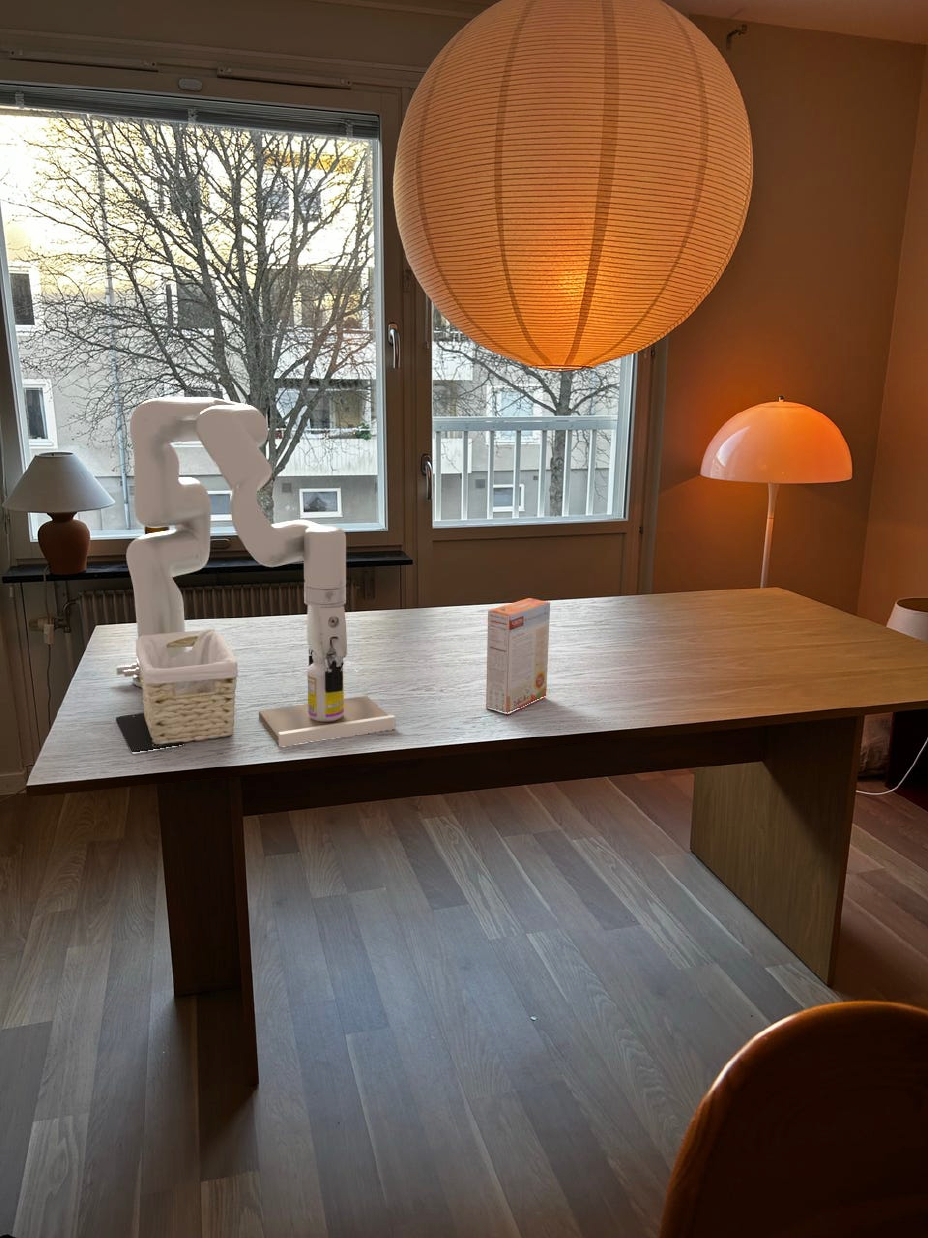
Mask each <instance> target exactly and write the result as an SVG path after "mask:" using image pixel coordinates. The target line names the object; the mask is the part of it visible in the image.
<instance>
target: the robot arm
mask: <svg viewBox="0 0 928 1238" xmlns="http://www.w3.org/2000/svg"><path fill="white" fill-rule="evenodd" d="M129 422H130V423H129V432H130V433H129V434H130V440H131V445H132V452H133V464H134V465H133V466H134V467H133V477H134V479H133V480H134V481H133V485H134V487H133V491H134V492H133V494H134V498H133V499H134V504H133V505H134V514H135V517H136V519H137V521H138V522H139V523H140V524H141V526H144V527H147V528H152V529H158V528H166V527H167V528H168V527H172V526H174V529H172V530H165V531H163V530H162V531H157V532H152V533H147V534H144V535H141V536H138V537H137V538H135V539H134V540H132V541H131V542H130V543H129V544H128V547H127V549H126V553H125V557H126V564H127V567H128V570H129V575H130V578H131V583H132V586H133V587H132V588H133V593H134V594H133V596H134V607H135V615H136V616H135V617H136V619H135V620H136V630H137V639H138V638H139V637H140V636H142V635H155V634H165V633H176V632H186V627H185V625H186V624H185V609H184V607H185V606H184V598H183V594H182V591H181V590H180V589H179V587H178V585H177V584H176V583H175V581H174V579H173V578H175V577H177V576H181V575H187V574H191V573H194V572H197V571H200V570H201V569H203V568H204V567H205V566H206V565H207V563H208V561H209V557H210V552H211V528H212V527H211V526H212V525H211V524H212V523H211V520H212V506H211V505H212V504H211V499H210V494H209V493H208V491H207V489H206V487H205V485H203V483H202V482H201V481H200V480H198V479H196V478H194V477H185V476H183V477H180V461H179V457H178V454H177V452H176V450H175V448H174V446H173V445H172V444H171V443H179V442H181V443H184V442H188V443H189V442H200V443H201V445H202V446H203V447H204V449H205V451H206V452H207V454H208V456H209V457H210V458H211V460H212V461H213V463H214V465H215V466H216V468H217V469H218V471H219V473H220V474H221V476H222V477H223V480H225V482H226V483H227V485H228V487H229V488H230V490H231V496H230V497H231V498H230V516H231V522H232V525H233V528H234V531H235V533H236V534H237V536H238V537H239V540H240V541H241V542H242V544H243V546H244V547H245V549H246V550H247V552H248V553H249V554H250V556H251V557H252V558H253V559H254V560H255V561H257V562H258V563H259V564H260V565H262V566H265V567H269V568H274V567H279V566H283V565H289V564H292V563H296V562H297V563H298V562H303V590H304V591H303V597H304V599H303V600H304V601H303V602H304V604H305V605H307V619H306V621H307V622H306V623H307V624H306V635H307V637H306V638H307V645H308V667H309V666H310V665H311V664H313V663H314V661H313V659H312V652H313V651H314V652H315V653H316V654H317V655H318V656H319V657H321V658H322V659H325V664H326V668H327V671H325V691H326V692H327V693H330V692H338V691H342V690H344V664H345V663H344V658H346V657H347V655H348V641H347V640H348V638H347V637H348V636H347V622H346V621H347V620H346V619H347V618H346V612H345V606H344V605H345V604H346V602H347V596H346V595H347V586H346V585H347V536H346V532H345V531H344V530H343V529H342V528H340V527H338V526H334V525H333V526H332V525H322V524H318V523H315V522H313V521H310V520H307V519H295V520H289V521H282V522H278V523H277V522H276V523H271V522H269V520H268V518H267V517H266V516H265V514H264V513H263V510H262V509H261V507H260V505H259V502H258V497H257V496H258V495H257V493H258V491H259V490H261V488H263V487H264V486H265V485H266V484H267V483H268V482H269V480H270V478H271V477H272V475H273V474H272V473H273V470H272V469H273V468H272V465H271V464H270V463H269V460H267V458H266V456H265V455H264V454H263V452H262V450H261V449H260V447H262V446H263V445H264V444H265V443H266V442H267V440H268V436H269V425H268V423H267V420H266V418H265V416H264V415H263V414H262V412H261V411H259V409H257V408H256V407H254V406H252V405H249V404H244V403H238V402H235V401H230V400H224V399H220V398H215V397H208V396H207V397H205V396H204V397H201V396H195V397H194V396H192V397H190V396H189V397H186V396H167V397H156V398H151V399H148V400H145V401H143V402H141V403H140V404H139V405H137V406H136V408H135V409H134V410H133V412H132V414H131V417H130V421H129ZM167 652H168V656H169V658H171V657H176V656H179V655H181V654H183V653H185V652H187V647H174V648H167ZM333 653H334V654H333ZM327 654H333V655H327ZM334 659H335V660H334ZM135 660H136V662H132V663H131V664H128V665H125V664H124V665H123V664H122V665H116V667H115V668H116V669H115V671H116V676H122V675H124V678H126V677H132V682H133V684H134V685H135V686H136V687H139V688H142V684H141V680H142V679H141V676H140V670H141V669H140V665H139V661H138V657H137V658H136V659H135ZM330 660H334V661H332V663H331V664H330Z"/></svg>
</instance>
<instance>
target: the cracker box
mask: <svg viewBox="0 0 928 1238" xmlns="http://www.w3.org/2000/svg"><path fill="white" fill-rule="evenodd" d="M550 613H551V602H550V601H546V600H540V599H536V598H531V597H530V598H529V597H528V598H525V599H521V600H518V601H515V602H512V603H507V604H506V605H502V606H499V607H496V608H492V609H489V610H488V611H487V647H486V648H487V649H486V650H487V651H486V655H487V656H486V661H487V662H486V692H485V693H486V696H485V697H486V699H485V709H486V708H492V709H496V710H499V711H502V712H507V713H508V712H510V711H513V710H515V709H517V708H521V707H523V706H525V705H527V704H529V703H531V702H533V701H535V700H537V699H540V698H541V697H544V696H546V697H547V687H548V684H547V683H548V663H549V644H550V643H549V642H550V641H549V640H550V639H549V638H550V620H551V619H550V618H551V617H550V616H551V614H550Z"/></svg>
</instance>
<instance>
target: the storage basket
mask: <svg viewBox="0 0 928 1238" xmlns="http://www.w3.org/2000/svg"><path fill="white" fill-rule="evenodd" d="M174 647H186V648H190V647H191V648H192V649H190V650H188V651H186V652H185V653H183V654H181V655H179V656H176V657H171V658H169V656H168V652H167V648H174ZM135 653H136V657H137V658H138V661H139V665H140V669H141V670H140V676H141V679H142V680H141V684H142V687H141V688H142V699H143V701H142V705H143V713H144V717H145V720H146V723H147V726H148V730H149V732H150V735H151V737H152V739H153V741H152V742H153V743H155V744H166V743H175V742H184V743H188V742H192V741H204V740H207V739H210V740H211V739H218V738H220V737H221V738H222V737H223V738H224V737H229V736H231V735H233V733H234V724H235V712H236V711H235V704H236V700H235V698H236V694H235V693H236V689H237V682H238V679H237V678H238V676H239V675H238V674H239V671H238V660H237V658H236V657H235V654H234V653H233V652H232V650H231V648H230V647H229V645H228V644H227V642H226V640H225V639H224V638H223V636H222V635H221V633H220V632H219V630H217V629H216V628H215V629H211V628H210V629H204V630H192V631H191V630H189V631H188V630H187V631H185V632H176V633H165V634H155V635H142V636H140V637H139V638H138V637H137V638H136V639H135Z"/></svg>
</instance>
